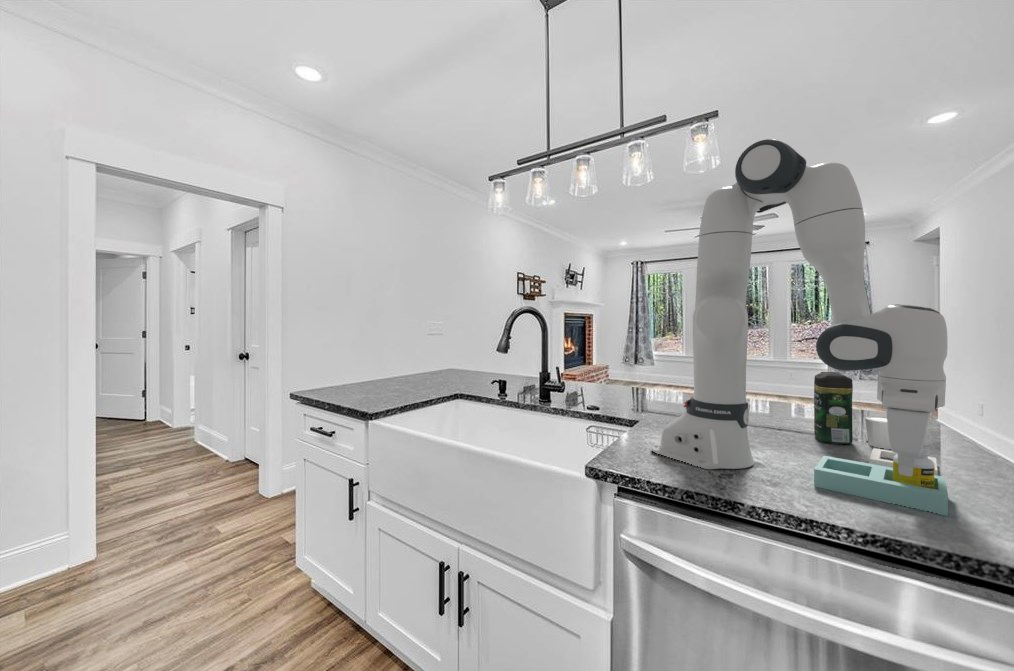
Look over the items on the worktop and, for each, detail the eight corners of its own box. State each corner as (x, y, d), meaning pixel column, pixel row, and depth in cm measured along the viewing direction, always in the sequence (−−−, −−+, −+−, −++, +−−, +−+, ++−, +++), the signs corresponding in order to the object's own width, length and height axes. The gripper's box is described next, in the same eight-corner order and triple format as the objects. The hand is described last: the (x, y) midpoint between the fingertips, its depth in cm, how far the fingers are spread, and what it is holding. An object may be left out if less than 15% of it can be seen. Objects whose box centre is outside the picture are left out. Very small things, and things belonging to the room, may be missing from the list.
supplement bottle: (925, 507, 71) (926, 451, 71) (886, 495, 76) (886, 443, 76) (940, 501, 74) (941, 447, 73) (901, 490, 78) (902, 439, 78)
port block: (814, 486, 81) (814, 468, 81) (823, 471, 89) (823, 454, 88) (947, 516, 68) (947, 494, 68) (944, 495, 76) (945, 475, 76)
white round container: (908, 451, 101) (909, 423, 101) (876, 449, 102) (876, 422, 102) (888, 442, 108) (889, 416, 107) (858, 441, 109) (859, 415, 109)
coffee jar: (811, 434, 117) (811, 369, 116) (846, 437, 113) (847, 370, 112) (817, 443, 108) (818, 373, 108) (856, 447, 104) (856, 375, 104)
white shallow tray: (869, 465, 92) (869, 458, 92) (873, 454, 99) (873, 448, 99) (937, 477, 84) (937, 470, 84) (935, 464, 91) (936, 457, 91)
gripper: (890, 384, 84) (887, 450, 84) (881, 398, 70) (878, 477, 70) (934, 388, 79) (931, 458, 80) (935, 403, 65) (931, 488, 66)
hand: (906, 467), depth 75 cm, fingers open, 8 cm apart
